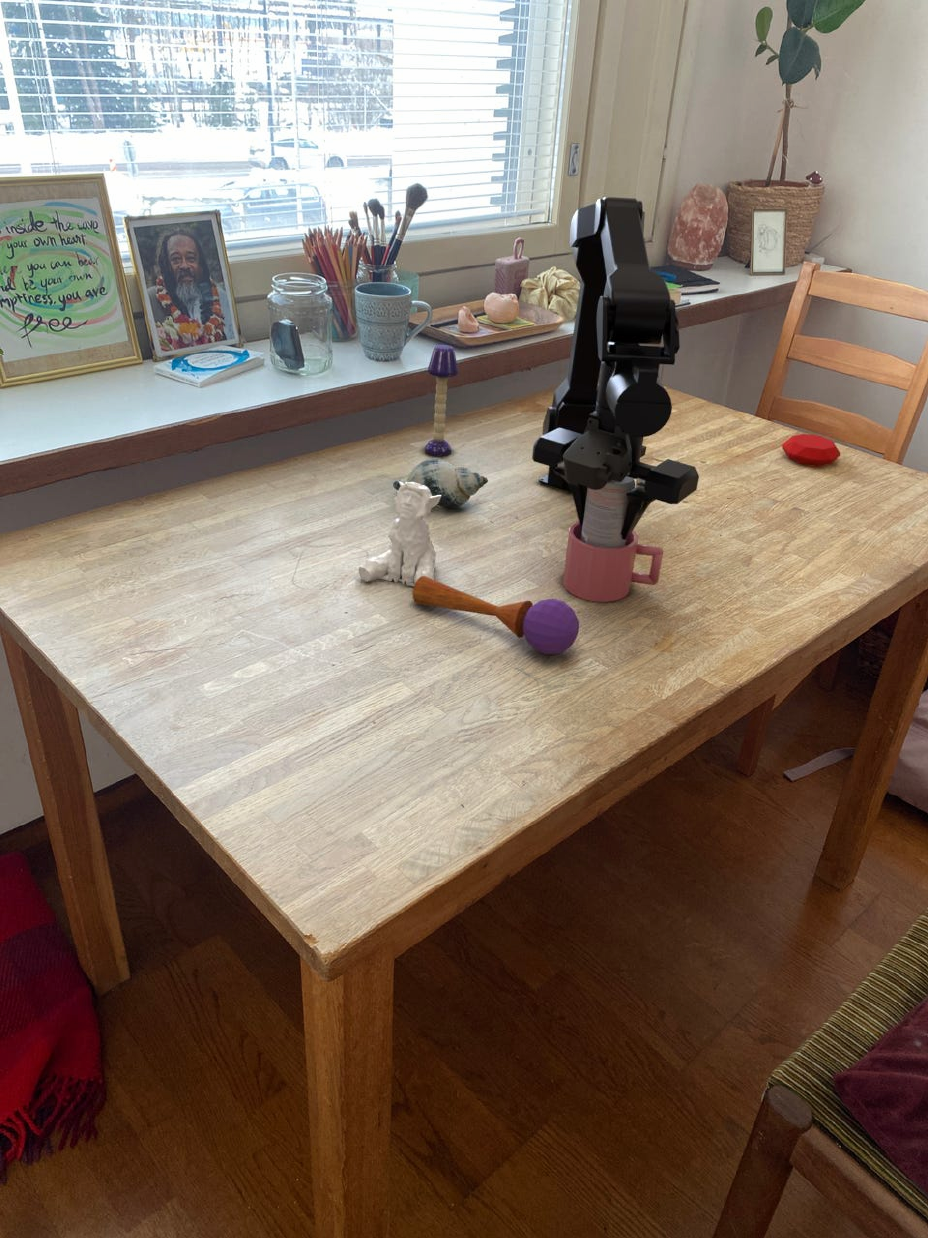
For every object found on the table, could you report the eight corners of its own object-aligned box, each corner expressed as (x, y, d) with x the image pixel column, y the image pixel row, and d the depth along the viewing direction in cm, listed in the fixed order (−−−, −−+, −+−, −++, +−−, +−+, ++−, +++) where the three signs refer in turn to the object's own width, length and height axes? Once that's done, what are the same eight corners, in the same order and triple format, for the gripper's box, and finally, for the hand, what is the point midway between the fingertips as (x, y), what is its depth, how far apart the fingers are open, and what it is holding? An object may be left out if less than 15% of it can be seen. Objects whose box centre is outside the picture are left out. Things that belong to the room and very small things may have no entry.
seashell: (421, 495, 139) (480, 521, 133) (387, 487, 134) (447, 514, 127) (434, 454, 138) (495, 478, 131) (401, 444, 132) (462, 469, 125)
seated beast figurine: (356, 581, 113) (354, 489, 107) (387, 552, 120) (387, 463, 114) (427, 598, 111) (430, 505, 104) (455, 567, 117) (459, 478, 111)
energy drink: (625, 560, 116) (640, 470, 109) (616, 580, 112) (631, 488, 105) (583, 551, 117) (595, 462, 111) (572, 570, 113) (585, 479, 107)
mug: (559, 596, 113) (566, 544, 109) (566, 565, 120) (572, 515, 116) (655, 609, 111) (665, 557, 108) (656, 577, 118) (665, 527, 114)
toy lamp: (427, 444, 153) (431, 341, 144) (456, 447, 153) (461, 344, 144) (422, 454, 149) (425, 349, 140) (451, 457, 149) (456, 352, 140)
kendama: (437, 560, 111) (591, 601, 101) (432, 608, 113) (583, 652, 103) (407, 570, 106) (567, 613, 96) (404, 620, 108) (559, 667, 98)
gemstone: (791, 444, 162) (795, 427, 160) (843, 457, 158) (848, 440, 156) (773, 458, 156) (777, 441, 154) (827, 473, 151) (831, 455, 150)
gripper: (511, 401, 102) (501, 530, 111) (667, 445, 94) (643, 582, 102) (563, 379, 110) (550, 500, 118) (712, 417, 101) (686, 546, 110)
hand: (603, 531), depth 112 cm, fingers closed on energy drink, 5 cm apart
